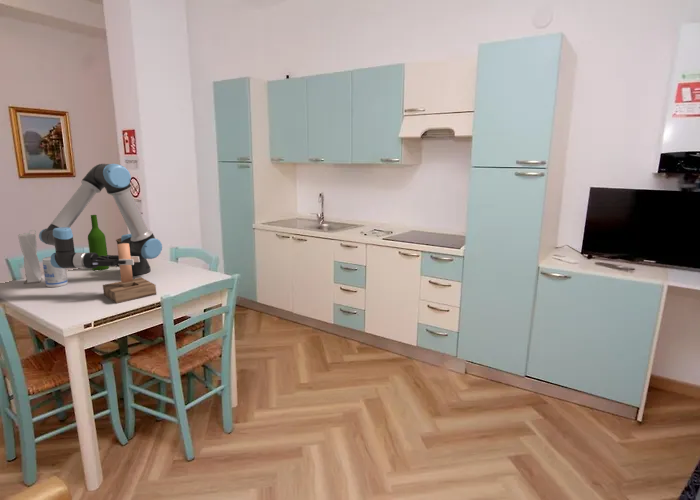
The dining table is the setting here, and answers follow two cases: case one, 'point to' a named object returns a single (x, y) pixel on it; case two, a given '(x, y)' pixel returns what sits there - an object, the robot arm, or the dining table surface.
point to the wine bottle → (97, 241)
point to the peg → (125, 269)
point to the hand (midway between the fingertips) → (136, 260)
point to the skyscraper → (30, 257)
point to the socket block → (129, 290)
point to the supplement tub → (54, 274)
